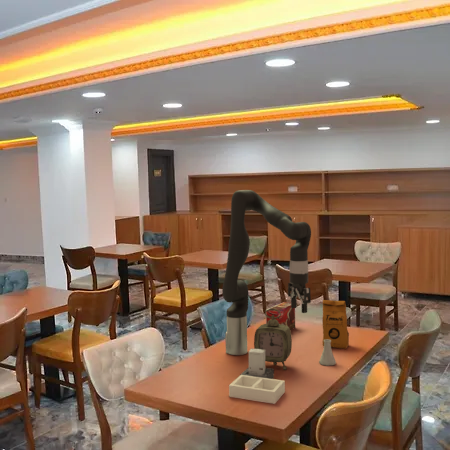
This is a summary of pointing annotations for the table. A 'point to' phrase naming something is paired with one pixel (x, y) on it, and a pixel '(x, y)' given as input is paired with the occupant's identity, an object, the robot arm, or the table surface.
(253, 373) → the skincare box
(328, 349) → the flask
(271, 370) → the socket block
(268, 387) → the cream divided tray
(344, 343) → the coffee package
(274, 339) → the tabletop clock
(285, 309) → the ice cream box
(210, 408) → the table surface
